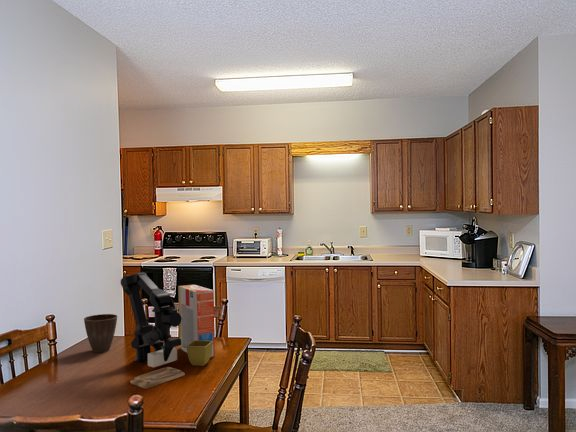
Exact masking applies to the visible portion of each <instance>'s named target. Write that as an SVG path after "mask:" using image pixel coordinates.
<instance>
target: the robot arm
mask: <svg viewBox="0 0 576 432" xmlns="http://www.w3.org/2000/svg"><path fill="white" fill-rule="evenodd" d="M120 285H121V287H122V291H123V292H124V293H125V294H126V295H127V296H128V297H129V298H128V299H129V303H130V306H131V309H132V314H133V317H134V319H133V320H134V322H135V326H136V327H135V329H134V338H133V340H132V341H131V342H130V345H131V348H132V349H134V350H135V358H134V359H133V360H132V361H133V362H136V363H139V364H144V363H148V353H151V352H152V351H151V347H152V348H153V349H154V352H155V351H158V350H162V349H163V353H164V361H167V360H168V358H169V355H170V353H171V351H172V349H173V347H174V348H177V347H180V345H181V339H180V338H179V337H176V336H175V337H172V335H171V334H170V328H172V327H174V328H176V327H179V324H180V323H181V319H182V318H181V315H180V314H179V312H178V309H176V305H175V303H174V301H173V299H172V297H171V294H170V293H169V292H167V291H166V290H164V289H160V288H159V287H158V286H157V284H155V283H154V281H152V279H150V277H149V276H148V274H147V273H146V272H136V273H133V274H128V275H124V276H122V278H121V279H120ZM141 289H142V290H143V292H145V293H146V294H147V295H148V296H149V302H150V304H151V305H152V307H153V309H152V310H151V312H153V313H154V325H153V324H150V323H149V322H148V319H147V316H146V311H145V308H144V304H143V300H142V296H141V293H140V291H141Z"/></svg>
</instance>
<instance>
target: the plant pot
mask: <svg viewBox="0 0 576 432" xmlns="http://www.w3.org/2000/svg"><path fill="white" fill-rule="evenodd" d="M83 322H84V328H85V332H86V335H87V341H88V342H89V345H90V347H91V350H92V352H93V353H105V352H108V351H109V350H110V349H111V346H112V344H113V339H114V337H115V331H116V328H117V323H118V314H113V313H102V314H94V315H90V316H86V317H84V318H83Z"/></svg>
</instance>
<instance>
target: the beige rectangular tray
mask: <svg viewBox="0 0 576 432" xmlns="http://www.w3.org/2000/svg"><path fill="white" fill-rule="evenodd" d="M185 375H186V374H185V372H183V371H182V370H181V369H177V368H175V367H170V366H165V367H162V368H160V369H156V370H152V371H149V372H147V373H143V374H140V375H137V376H134V377H133V379H132V380H131V379H130V381H129V382H130V384H131V385H134V386H137V387H140V388H142V389H151V388H152V387H155V386H158V385H161V384H164V383H166V382H169V381H172V380H175V379H177V378H180V377H183V376H185Z"/></svg>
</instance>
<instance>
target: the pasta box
mask: <svg viewBox="0 0 576 432" xmlns="http://www.w3.org/2000/svg"><path fill="white" fill-rule="evenodd" d="M177 288H178V290H177V291H178V313H179V314H180V315H181V318H182V319H181V323H180V324H179V325H178V329H179V334H178V335H179V337H178V338H180V339H181V345H179V349H180V350H181V351H183V352H185V353H186V354H188V353H187V345H189V344H190V343H192V342H193V341H195V340H198V341H213V344H212V353H211V356H210V359H211V358H215V357H216V348H215V347H216V344H215V343H216V340H215V335H216V333H215V296H214V295H215V291H214V289H210V288H207V287H205V286H204V287H203V286H200V285H197V284H187V285H178V286H177Z"/></svg>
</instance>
